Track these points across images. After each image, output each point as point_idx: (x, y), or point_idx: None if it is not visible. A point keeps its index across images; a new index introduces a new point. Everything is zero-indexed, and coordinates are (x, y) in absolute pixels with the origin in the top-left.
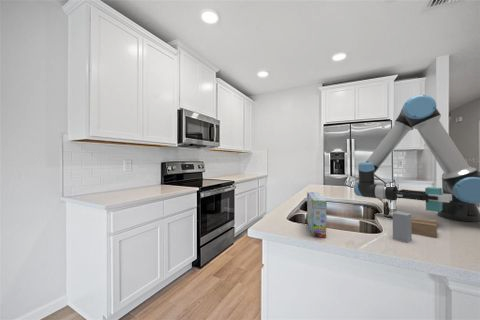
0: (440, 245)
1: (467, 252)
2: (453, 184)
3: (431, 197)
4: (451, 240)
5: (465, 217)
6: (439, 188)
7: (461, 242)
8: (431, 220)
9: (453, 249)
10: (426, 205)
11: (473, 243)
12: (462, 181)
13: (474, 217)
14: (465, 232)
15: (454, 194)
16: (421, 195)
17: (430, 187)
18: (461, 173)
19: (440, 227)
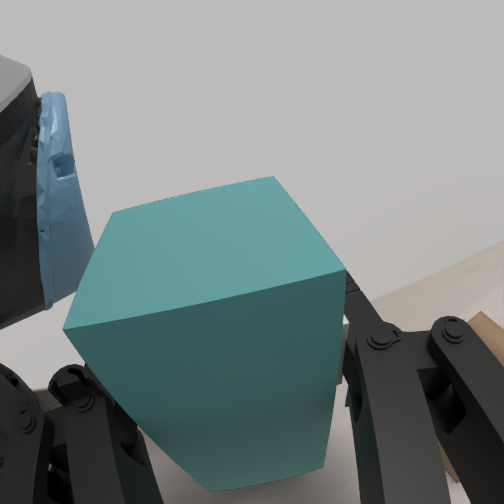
0: (499, 307)
1: (465, 271)
2: (8, 188)
3: (366, 308)
4: (428, 329)
5: (28, 401)
6: (192, 196)
7: (411, 312)
8: None
9: (485, 286)
10: (323, 446)
11: (379, 300)
12: (66, 117)
13: (20, 378)
14: None
15: (50, 275)
16: (473, 341)
17: (124, 279)
18: (20, 67)
19: None
